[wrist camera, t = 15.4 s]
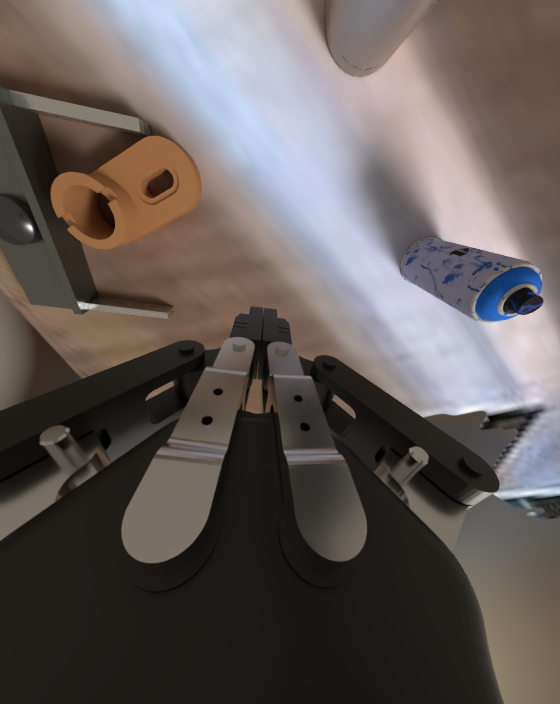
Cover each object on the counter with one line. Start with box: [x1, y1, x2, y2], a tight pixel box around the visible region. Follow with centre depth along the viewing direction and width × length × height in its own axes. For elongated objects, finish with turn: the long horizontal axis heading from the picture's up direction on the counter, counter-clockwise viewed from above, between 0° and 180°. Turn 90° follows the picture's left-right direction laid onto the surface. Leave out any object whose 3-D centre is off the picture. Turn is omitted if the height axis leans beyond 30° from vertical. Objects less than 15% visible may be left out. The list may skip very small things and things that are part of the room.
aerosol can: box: [400, 237, 543, 323], centre depth 31 cm, size 8×8×20 cm
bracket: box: [51, 136, 201, 249], centre depth 30 cm, size 18×8×7 cm, turn 113°
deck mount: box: [0, 86, 174, 319], centre depth 32 cm, size 26×22×5 cm
